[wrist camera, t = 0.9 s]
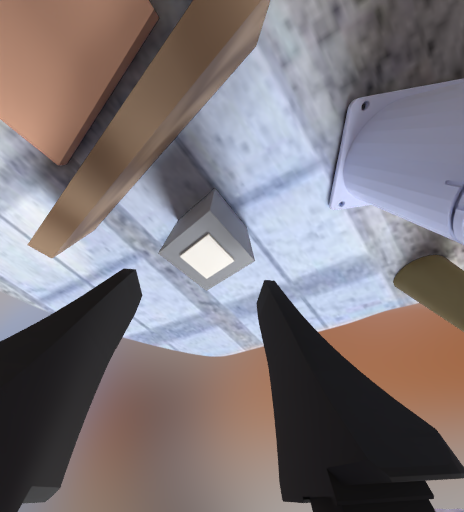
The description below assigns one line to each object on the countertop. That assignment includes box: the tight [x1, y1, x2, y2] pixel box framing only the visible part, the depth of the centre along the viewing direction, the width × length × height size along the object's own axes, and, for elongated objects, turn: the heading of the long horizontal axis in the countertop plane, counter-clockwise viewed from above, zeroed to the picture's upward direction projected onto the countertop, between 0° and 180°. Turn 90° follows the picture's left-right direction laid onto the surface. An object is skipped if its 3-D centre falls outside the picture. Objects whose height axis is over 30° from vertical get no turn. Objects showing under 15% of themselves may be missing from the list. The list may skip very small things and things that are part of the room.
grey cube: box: [158, 189, 255, 291], centre depth 14 cm, size 5×5×6 cm
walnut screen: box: [28, 0, 270, 258], centre depth 11 cm, size 20×2×5 cm, turn 128°
